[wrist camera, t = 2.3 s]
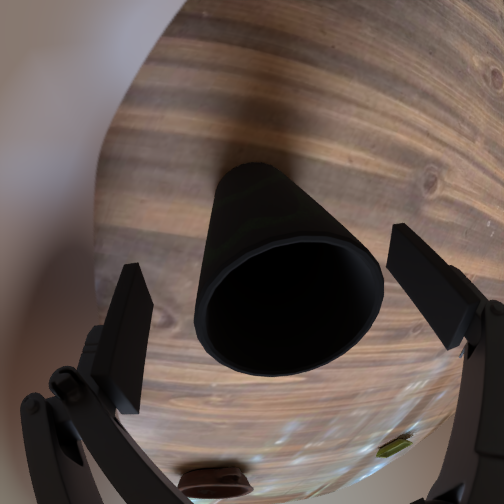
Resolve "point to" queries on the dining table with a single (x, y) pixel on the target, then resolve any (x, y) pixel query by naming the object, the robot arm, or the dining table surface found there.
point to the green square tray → (393, 448)
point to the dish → (214, 483)
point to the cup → (281, 278)
